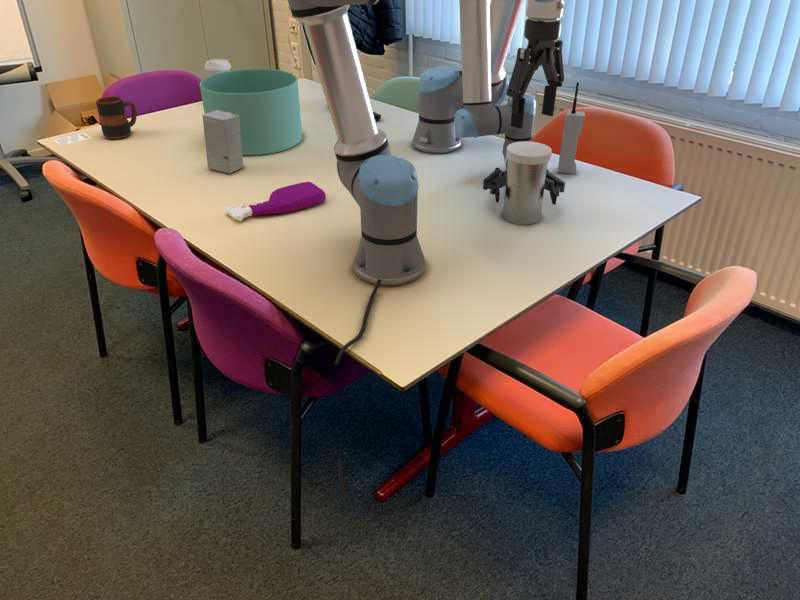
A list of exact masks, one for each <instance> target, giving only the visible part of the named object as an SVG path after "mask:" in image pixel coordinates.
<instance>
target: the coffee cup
mask: <svg viewBox="0 0 800 600" xmlns="http://www.w3.org/2000/svg"><path fill="white" fill-rule="evenodd" d="M231 68H232V65H231V63H230V62H229V60H228V59H225V58H215V59H214V58H213V59H209V60H206V61H205V64H204V70H205V71H206V75H207V76H206V77H208V76H211V75H214V74H217V73H221V72H226V71H231Z"/></svg>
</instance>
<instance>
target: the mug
mask: <svg viewBox="0 0 800 600" xmlns="http://www.w3.org/2000/svg"><path fill="white" fill-rule="evenodd" d="M95 103H96V108H97V113H98V116H99V118H100V127H101V132H102V136H104V138H105V139H108V140H122V139H125V138H128V137H129V136H131V134H132V127H134V125H135V124H136V121H137V115H138V113H137V111H138V110H137V106H136V104H135V103H134V102H133V101H132V100H127V101H123V98H122V97H120V96H104V97H101V98H98V99H97V100H96V101H95ZM128 106H130V108H131V117H130V121H129V120H128V117H127V115H126V107H128Z"/></svg>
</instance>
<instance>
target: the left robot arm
mask: <svg viewBox="0 0 800 600" xmlns="http://www.w3.org/2000/svg"><path fill="white" fill-rule="evenodd" d="M379 1H380V0H287V3H288V6H289V10H290V13H291V17H292V18H293V19H294V20H296V21H298V22H299V23H301V24H302V25H303V28H304V32H305V35H306V38H307V41H308V45H309V49H310V51H311V55H312V57H313V60H314V64H315V68H316V71H317V74H318V77H319V82H320V84H321V87H322V91H323V93H324V97H325V101H326V104H327V107H328V111H329V114H330V118H331V120H332V124H333V127H334V130H335V134H336V137H337V140H336V142H335V144H334V145H333V152H334V155H335V158H336V171H337V176H338V178H339V180H340V182H341V184H342V186H343V187H344V188H345V189H346V190H347V191H348V192H349V194H350V195H351V197H352V198H353V199H354V201H355V203H356V204H357V205H358V206H359V210H360V211H359V212H360V239H359V242H358V247H357V249H356V252H355V256H354V259H353V270H354V273H355V275H356V276H357V277H358V278H359V279H360V280H362V281H364V282H366V283H369V284H370V285H371V284H372V285H374V287H373V290H372V292H371V294H370V297H369V299H368V302H367V306H366V308H365V311H364V315H363V319H362V324H361V327H360V330H359V332H358V334H356V336H355V337H354V338H353V339H350V340H349V341H348V342H346V343H345V344H344V345H343V346H342V347H341V348H340V350H339V351H338V353H337V356H336V357H335V361H334V365H335V366H337V365H339V364H340V361H341V358H342V356H343V354H344V353H345V351H346V350H347V349H348V348H349V347H351V346H352V345H354V344H355V343H357V342H358V341H359V340H360V339H361V338H362V336H363V335H364V333H365V330H366V328H367V322H368V318H369V314H370V310H371V307H372V305H373V301H374V299H375V297H376V294H377V291H378V289H379V287H380V286H382V287H395V286H402V285H406V284H410V283H413V282H415V281H417V280H418V279H420V278H421V276H423V274H424V273H425V270H426V259H425V255H424V252H423V250H422V247H421V244H420V241H419V238H418V202H419V201H418V198H419V197H418V196H419V194H418V193H419V187H420V186H419V185H420V184H419V179H418V172H417V169H416V167H415V165H414V164H413V163H412V162H410V161H409V160H408V159H406V158H404V157H399V156H398V155H392V152H391V147H390V144H389V140H388V137H387V133H386V132H385V131H384V130H381V129H379V128H378V126H377V121H375V118H374V114H373V112H374V111H373V106H372V103H371V98H370V96H369V91H368V88H367V84H366V80H365V76H364V72H363V69H362V65H361V60H360V58H359V53H358V50H357V46H356V41H355V37H354V34H353V30H352V29H353V28H352V26H351V21H350V18H349V14H348V10H349V8H350V6H357V5H358V6H359V5H360V6H361V5H376V4H377V3H378V2H379ZM564 8H565V0H527V1H526V9H525V16H526V18H527V19H526V20H525V21H524V33H523V36H524V38H525V39H526V40H527V45H526V47H525V48H522V47H518V48H517V51H516V59H515V62H514V67H513V70H512V73H511V76H510V79H509V85H508V86H507V87H508V89H507V93H506V95H507V96H506V97H512V99H513V100H512V116H511V126H512V127H516V128H520V129H521V128H522V127H523V118H524V108H525V99H526V98H523V96H524V95H526V92H527V89H528V88H529V86H530V82H531V81H532V78H533V76H534V75H535V72H536V71H538V69H539V68H540V67H542V70H543V73H544V76H545V79H546V83H547V84H545V86H544V91H543V100H542V108H541V115H544V116H548V117H553V116H554V112H555V105H556V97H557V91H558V88H562V86H563V82H564V81H565V71H564V61H563V60H564V59H563V45H564V41H563V40H562V39H560V37H561V31H562V30H561V29H562V23H563V22H562V21H561V18H562V17H563V13H564V12H563V11H564ZM337 471H338V472H337V473H338V481H339V482H338V483H339V496H340V509H341V511H342V512H345V511H346V503H345V502H346V501H345V490H344V477H343V466H342V459H339V460H337Z"/></svg>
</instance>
